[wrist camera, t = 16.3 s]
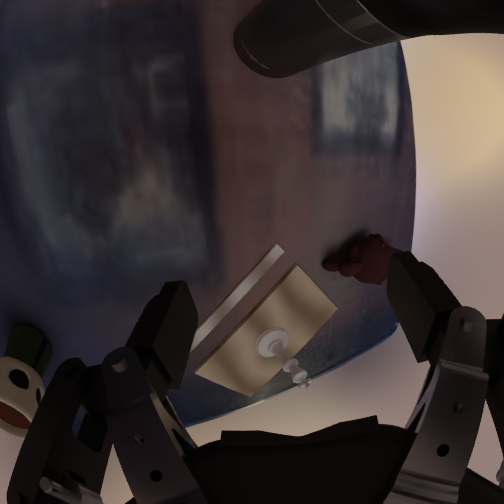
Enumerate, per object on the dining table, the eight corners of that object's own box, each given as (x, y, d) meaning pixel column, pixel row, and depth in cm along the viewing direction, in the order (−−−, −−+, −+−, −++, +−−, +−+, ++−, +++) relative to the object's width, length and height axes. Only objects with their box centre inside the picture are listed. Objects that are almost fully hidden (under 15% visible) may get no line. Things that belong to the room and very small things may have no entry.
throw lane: (275, 243, 33) (278, 244, 32) (335, 306, 41) (337, 308, 40) (169, 358, 32) (170, 361, 32) (249, 394, 40) (250, 397, 40)
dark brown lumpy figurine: (420, 231, 35) (345, 240, 30) (420, 279, 36) (346, 301, 31) (390, 229, 41) (315, 237, 37) (390, 273, 42) (318, 289, 38)
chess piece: (251, 336, 35) (287, 386, 27) (284, 321, 37) (325, 365, 28) (259, 359, 37) (292, 407, 29) (288, 345, 39) (326, 388, 30)
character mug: (73, 366, 27) (65, 447, 16) (39, 378, 25) (25, 452, 14) (25, 298, 22) (-14, 372, 11) (-8, 316, 21) (-45, 385, 9)
